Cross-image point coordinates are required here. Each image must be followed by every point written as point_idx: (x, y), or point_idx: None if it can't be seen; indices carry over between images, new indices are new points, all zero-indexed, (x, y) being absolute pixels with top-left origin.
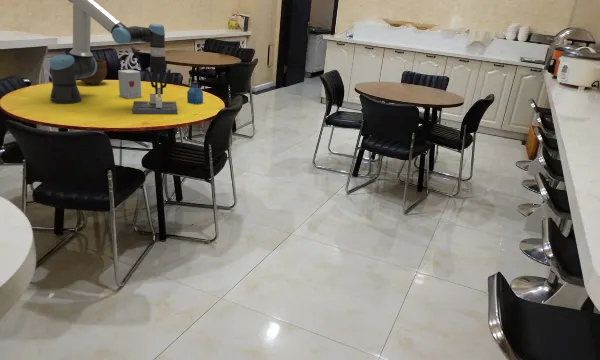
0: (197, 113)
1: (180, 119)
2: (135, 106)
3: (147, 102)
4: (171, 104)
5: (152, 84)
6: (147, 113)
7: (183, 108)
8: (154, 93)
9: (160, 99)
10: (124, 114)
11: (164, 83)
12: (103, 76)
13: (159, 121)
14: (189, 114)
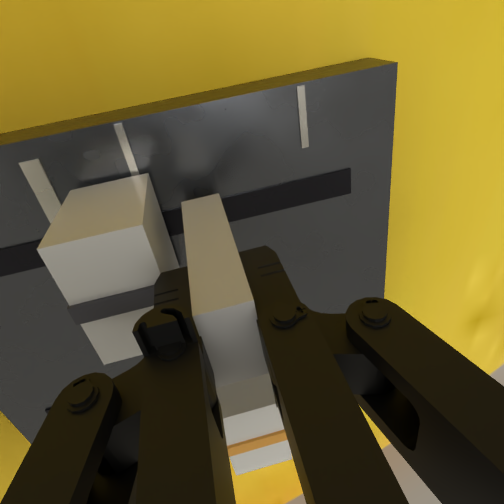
0: (498, 290)
1: (374, 423)
2: (23, 400)
3: (45, 217)
4: (339, 232)
5: (115, 500)
6: None
7: (431, 163)
8: (120, 236)
9: (279, 461)
10: (13, 452)
11: (397, 449)
12: None
13: (272, 476)
14: (440, 327)
